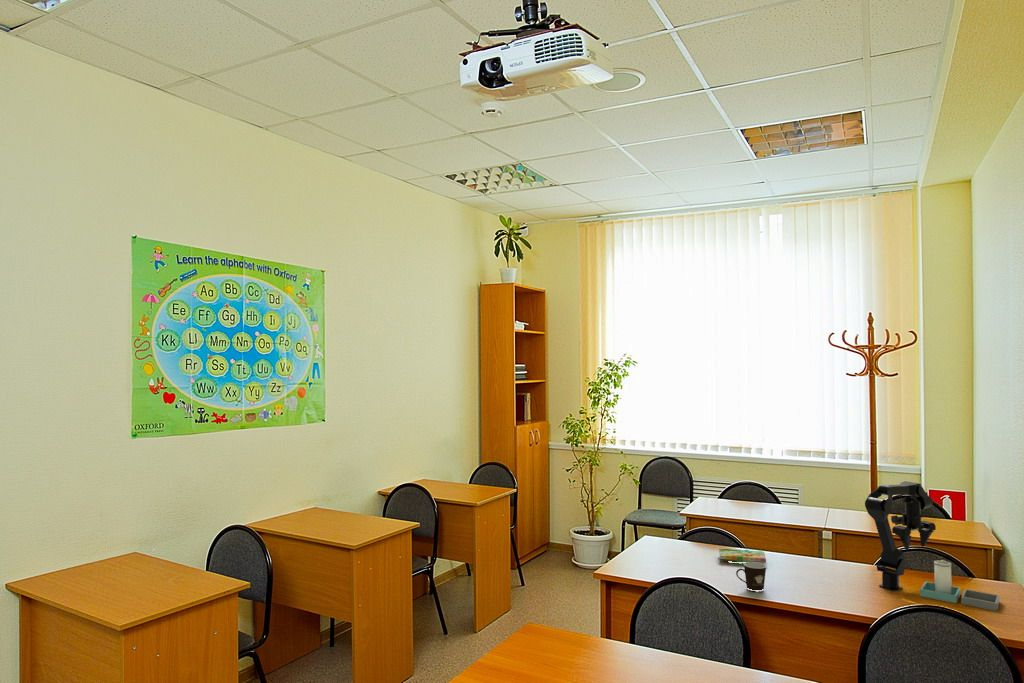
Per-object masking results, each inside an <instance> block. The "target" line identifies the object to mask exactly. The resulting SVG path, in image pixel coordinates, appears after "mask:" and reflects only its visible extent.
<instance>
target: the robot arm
mask: <svg viewBox="0 0 1024 683" xmlns="http://www.w3.org/2000/svg"><path fill="white" fill-rule="evenodd" d="M882 495H884V496H887V498H886V499H884V498H883V499H882V498H880V497H882ZM900 495H903V496H904V495H905V497H904V498H903V499H902V501H901V502H902V503H904V511H905V512H903V513H902V516H898V515H891V516H890V520H891V523H892V524H894V525H895V526H893V527H891V524H890V521H889V518H888V516H889V515H890V513H891V507H892V506H893V504H894V503H893V502H894V501H893V496H900ZM933 503H934V502H933V499H932V497H931V496H930V495H929V494H928V492H926V490H925V489H924V488H923V486H922V484H921V483H919V482H918V483H917V482H911V481H907V480H906V481H901V482H900V484H879V486H877V488H876V489H874V491H872V492H870V493H869V494H868V496H867V498H866V499H865V501H864V506H865V509H866V512H867V514H868V515H869V516H870V517H871V518H872V519H873V521H874V522H875V527H876V530H877V535H878V537H879V540H880V545H881V547H882V551H881V553H880V559H879V560H878V562H877V564H876V570H877V571H878V572H881V574H882V575H881V578H882V579H881V580H882V582H881V584H879V585H878V587H879V586H880V587H879V588H882V587H883V588H882V589H885V588H886V590H889V589H890V590H889V591H892V590H893V592H895V591H894V590H896V591H898V590H903V589H904V587H903V586H900V576H904V574H905V569H906V565H907V562H906V556H905V555H904V551H903V549H901V548H897V546H896V543H895V539H894V535H895V536H898V537H899V539H900V540H901V542H902V543H901V544H902V545H903V547H904V550H905V551H909V549H910V544H911V539H912V535H911V534H912V532H913V531H917V532H918V533H919V539H920V541H919V542H920V546H921V547H922V548H924V547H925V545H926V544H927V542H928V541H929V538H930V537H931V535H932V534H933V533H934V531H936V529H937V528H936V524H935V523H934V522H932V521H927V520H922V518H924V514H922V511H923V510H925V509H929V508H931V507H932V506H933ZM893 534H894V535H893Z"/></svg>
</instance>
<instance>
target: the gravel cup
mask: <svg viewBox="0 0 1024 683" xmlns="http://www.w3.org/2000/svg"><path fill="white" fill-rule="evenodd" d="M933 566H934V570H933V571H934V583H935V592H939V593H945V594H950V595H952V587H951V586H952V563H951V562H950V561H946V560H944V559H941V560H934V561H933Z"/></svg>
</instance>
